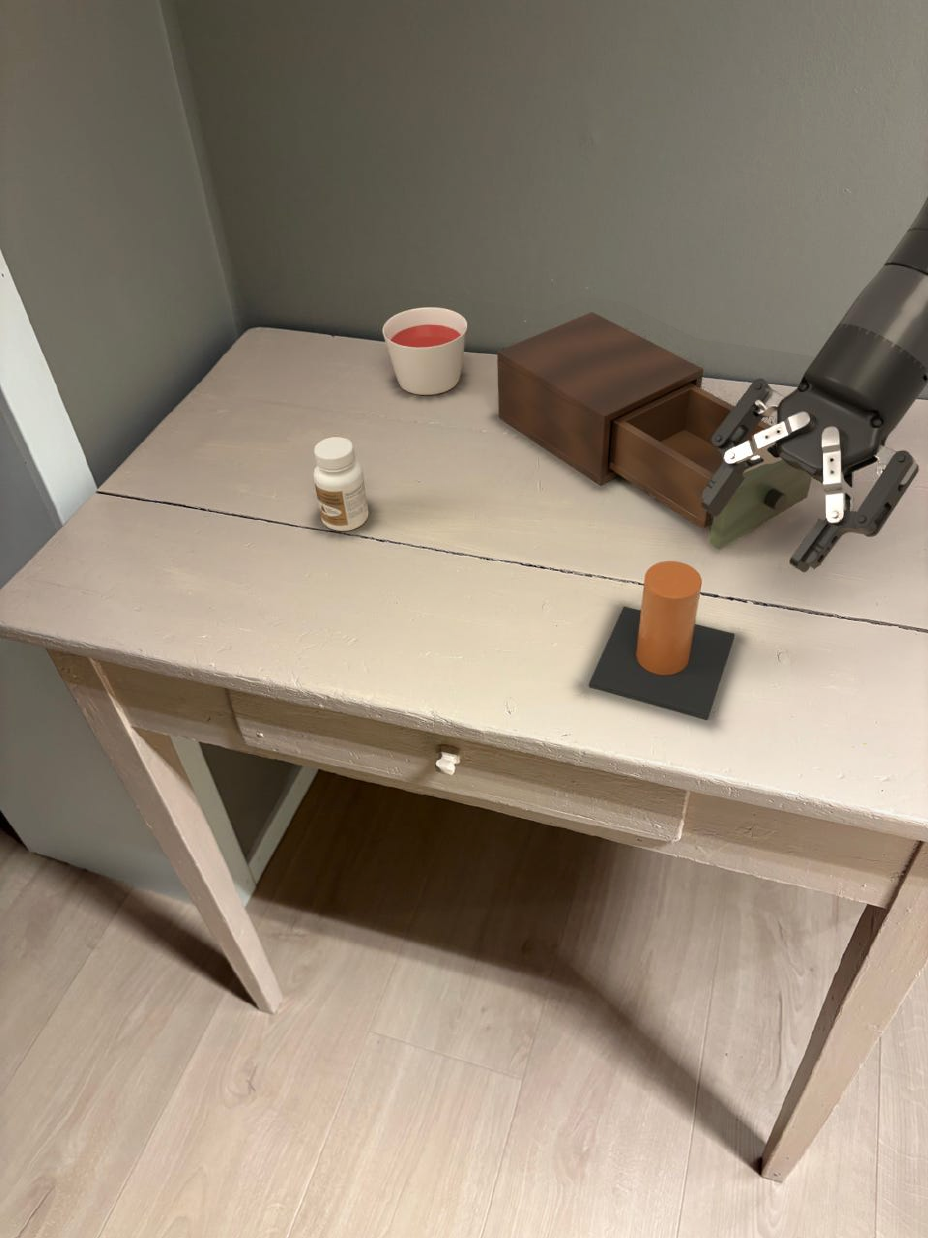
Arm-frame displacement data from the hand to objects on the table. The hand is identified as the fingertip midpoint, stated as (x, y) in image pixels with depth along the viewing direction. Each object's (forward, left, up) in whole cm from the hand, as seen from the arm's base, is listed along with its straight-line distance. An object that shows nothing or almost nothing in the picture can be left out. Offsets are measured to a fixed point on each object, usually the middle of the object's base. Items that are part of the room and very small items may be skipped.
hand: (751, 539), depth 72 cm
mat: (+4, +7, -8) cm, 11 cm away
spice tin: (+4, +7, -7) cm, 11 cm away
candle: (+39, -25, -8) cm, 47 cm away
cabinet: (+19, -22, -8) cm, 31 cm away
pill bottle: (+36, 0, -8) cm, 37 cm away
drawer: (+6, -15, -7) cm, 17 cm away
